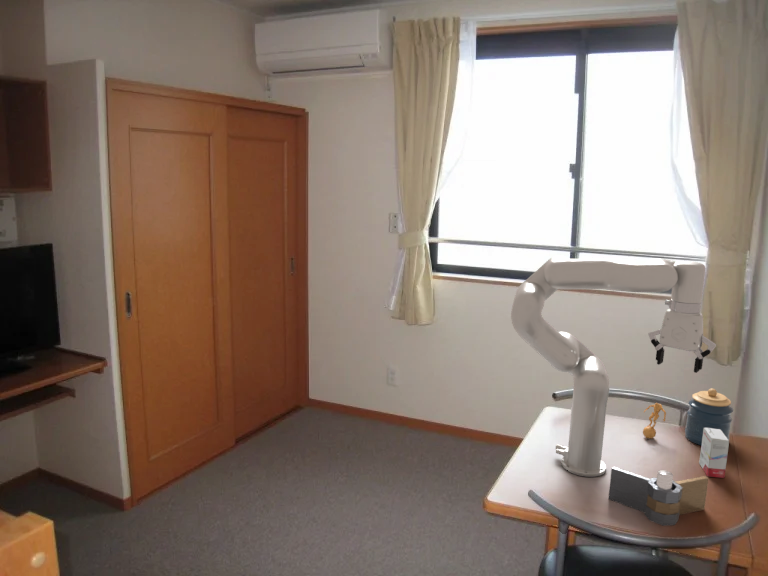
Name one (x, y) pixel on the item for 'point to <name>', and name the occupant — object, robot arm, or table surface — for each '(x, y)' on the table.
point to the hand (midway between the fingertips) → (677, 367)
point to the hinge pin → (664, 480)
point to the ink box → (714, 452)
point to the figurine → (650, 431)
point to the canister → (708, 414)
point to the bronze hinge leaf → (684, 498)
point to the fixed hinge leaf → (643, 494)
